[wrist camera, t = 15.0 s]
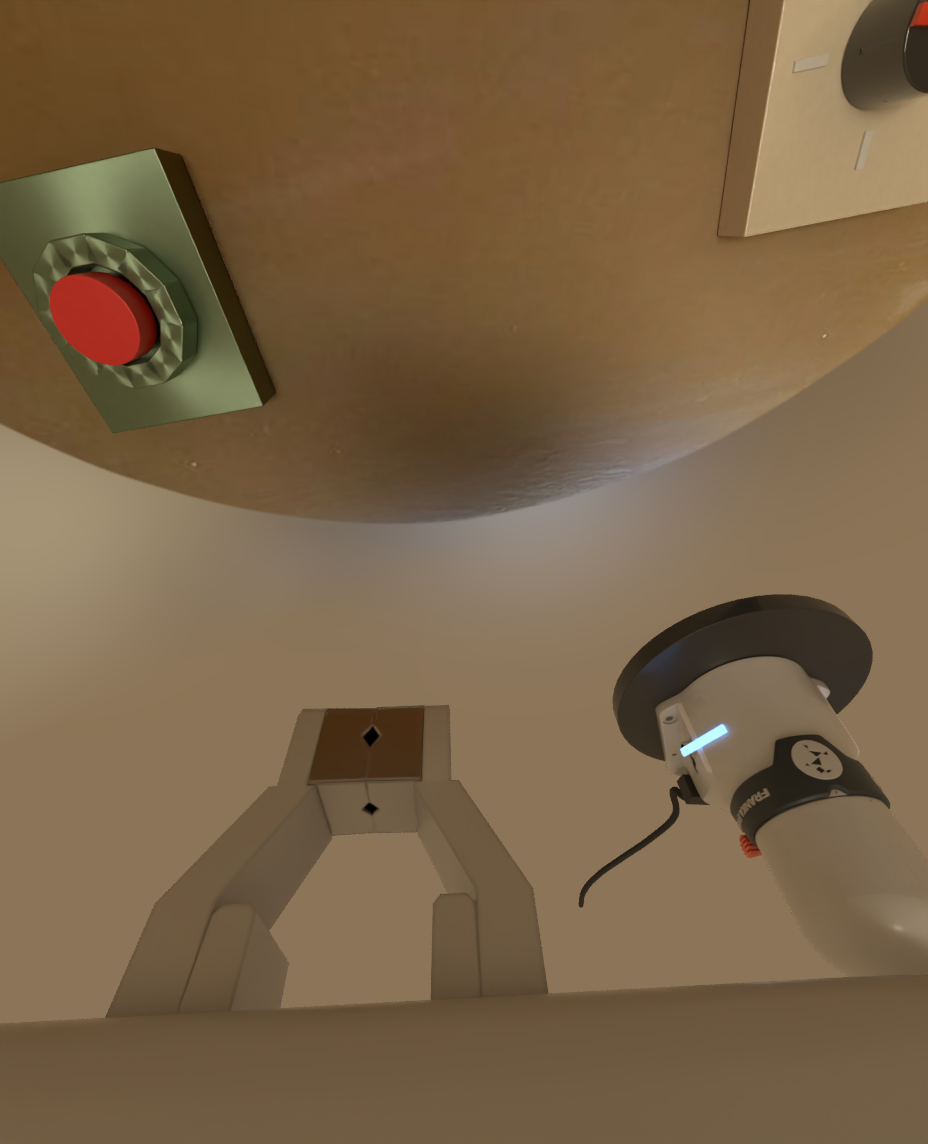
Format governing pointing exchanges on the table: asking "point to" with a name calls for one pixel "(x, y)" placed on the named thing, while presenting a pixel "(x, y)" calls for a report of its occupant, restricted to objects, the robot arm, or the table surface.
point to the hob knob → (887, 55)
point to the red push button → (103, 317)
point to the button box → (138, 284)
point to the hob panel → (813, 127)
